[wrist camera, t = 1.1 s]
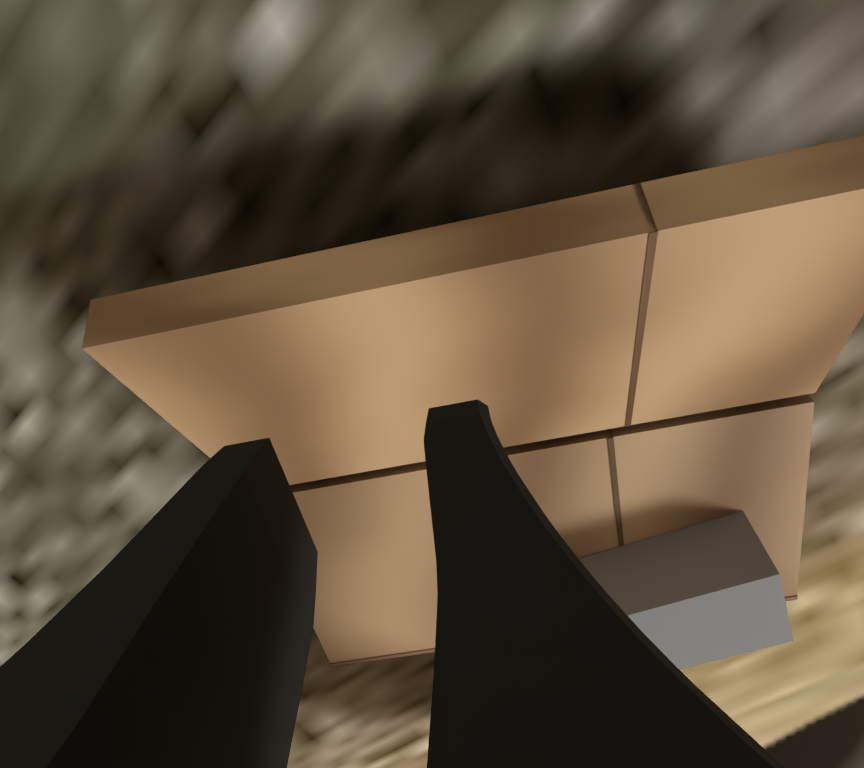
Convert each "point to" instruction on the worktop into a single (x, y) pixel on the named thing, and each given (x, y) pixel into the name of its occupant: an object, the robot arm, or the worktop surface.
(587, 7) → the worktop surface
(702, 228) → the board
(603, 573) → the block
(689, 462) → the laid strip
